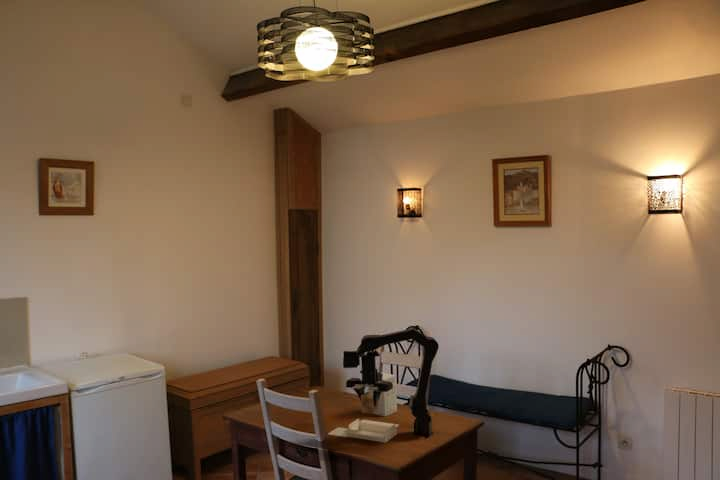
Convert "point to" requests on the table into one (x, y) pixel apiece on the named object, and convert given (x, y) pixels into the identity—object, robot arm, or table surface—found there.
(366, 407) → the tea box
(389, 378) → the supplement box
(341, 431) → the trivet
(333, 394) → the table surface
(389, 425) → the cream tray
